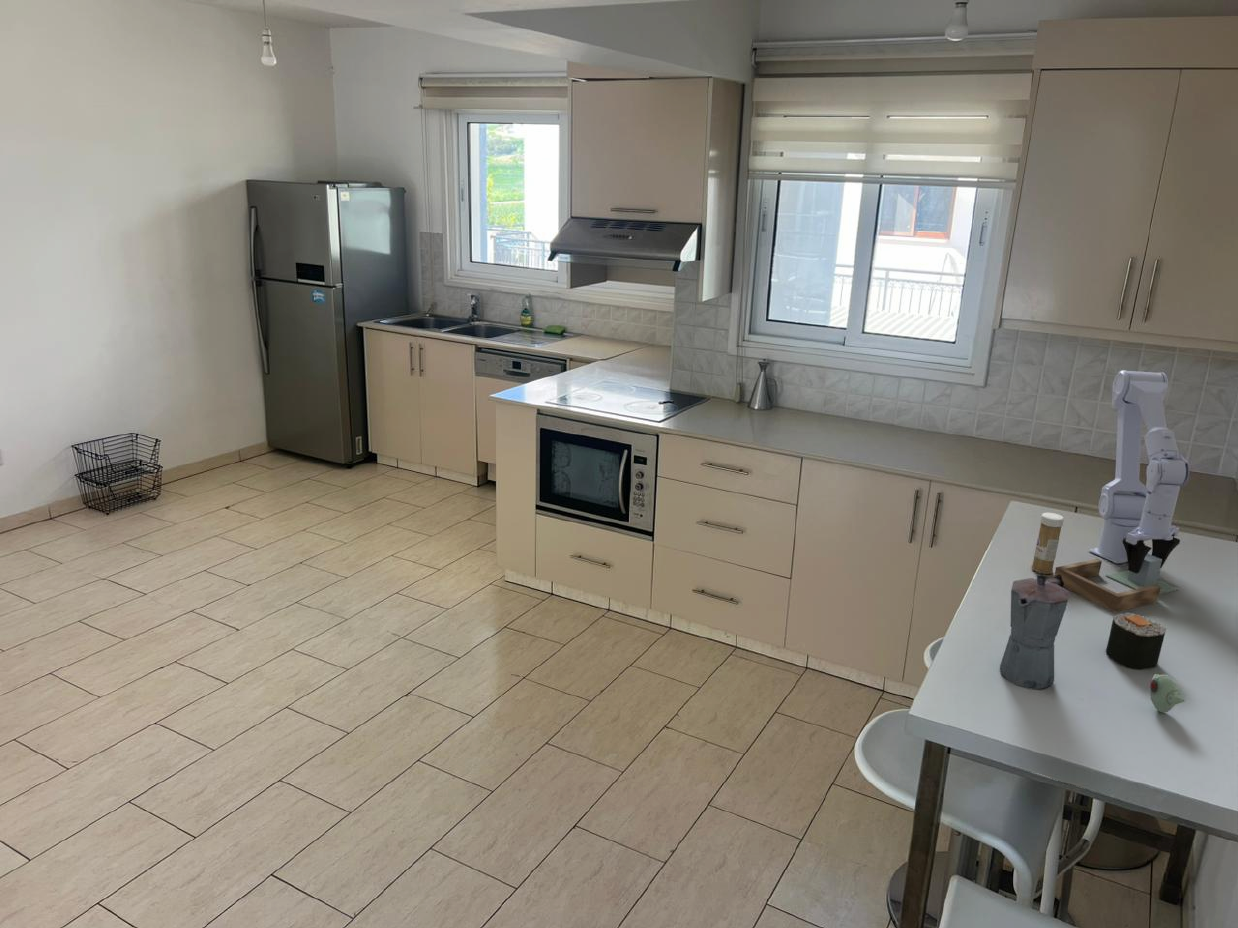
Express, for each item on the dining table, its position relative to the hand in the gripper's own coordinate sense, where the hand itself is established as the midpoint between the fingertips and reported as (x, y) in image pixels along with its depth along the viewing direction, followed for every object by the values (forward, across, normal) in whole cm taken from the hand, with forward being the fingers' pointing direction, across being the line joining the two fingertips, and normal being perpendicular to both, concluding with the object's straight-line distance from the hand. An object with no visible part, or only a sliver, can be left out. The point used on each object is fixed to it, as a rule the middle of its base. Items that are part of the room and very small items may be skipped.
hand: (1144, 569), depth 201 cm
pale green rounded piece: (+4, -45, -36) cm, 58 cm away
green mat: (+3, 0, 0) cm, 3 cm away
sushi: (+4, -33, -22) cm, 40 cm away
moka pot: (+4, -57, -19) cm, 60 cm away
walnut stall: (+3, -12, 0) cm, 12 cm away
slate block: (+3, 0, 0) cm, 3 cm away
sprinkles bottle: (+4, -16, +13) cm, 21 cm away
